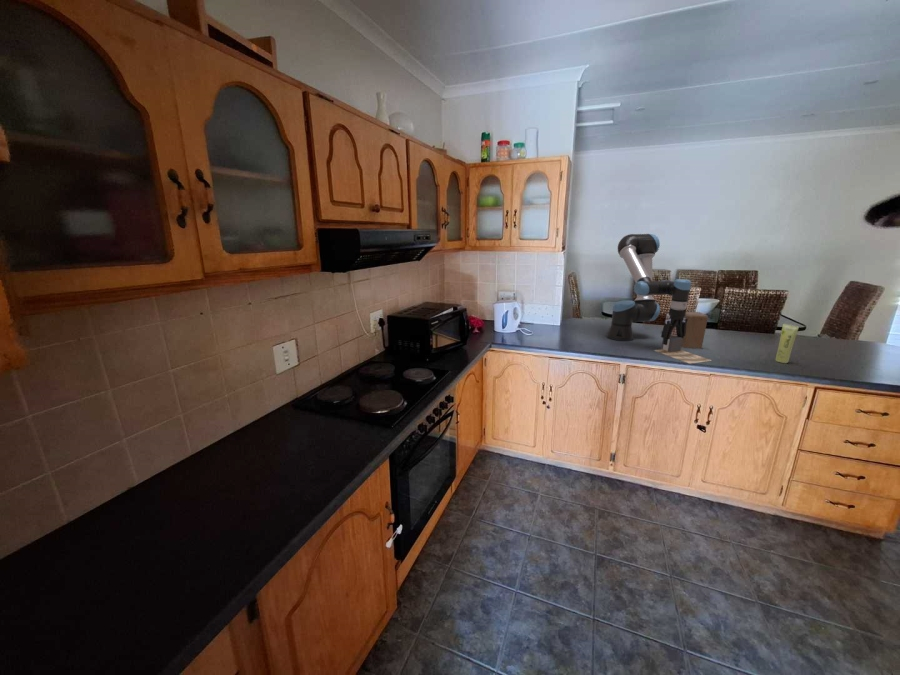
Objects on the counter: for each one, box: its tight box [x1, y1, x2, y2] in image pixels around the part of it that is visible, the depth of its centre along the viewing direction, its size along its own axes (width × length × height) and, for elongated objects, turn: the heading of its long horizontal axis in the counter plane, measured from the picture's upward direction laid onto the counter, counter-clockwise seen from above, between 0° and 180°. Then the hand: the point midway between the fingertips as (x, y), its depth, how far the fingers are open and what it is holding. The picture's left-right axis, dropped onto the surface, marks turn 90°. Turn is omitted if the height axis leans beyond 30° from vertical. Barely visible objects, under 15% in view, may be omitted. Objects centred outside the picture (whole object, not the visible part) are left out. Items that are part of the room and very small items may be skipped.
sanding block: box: [660, 335, 683, 353], centre depth 195 cm, size 6×7×8 cm
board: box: [653, 349, 712, 365], centre depth 190 cm, size 22×15×1 cm
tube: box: [775, 323, 800, 364], centre depth 179 cm, size 6×5×20 cm
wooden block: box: [681, 311, 709, 350], centre depth 203 cm, size 10×10×20 cm
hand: (670, 349), depth 196 cm, fingers closed on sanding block, 7 cm apart
